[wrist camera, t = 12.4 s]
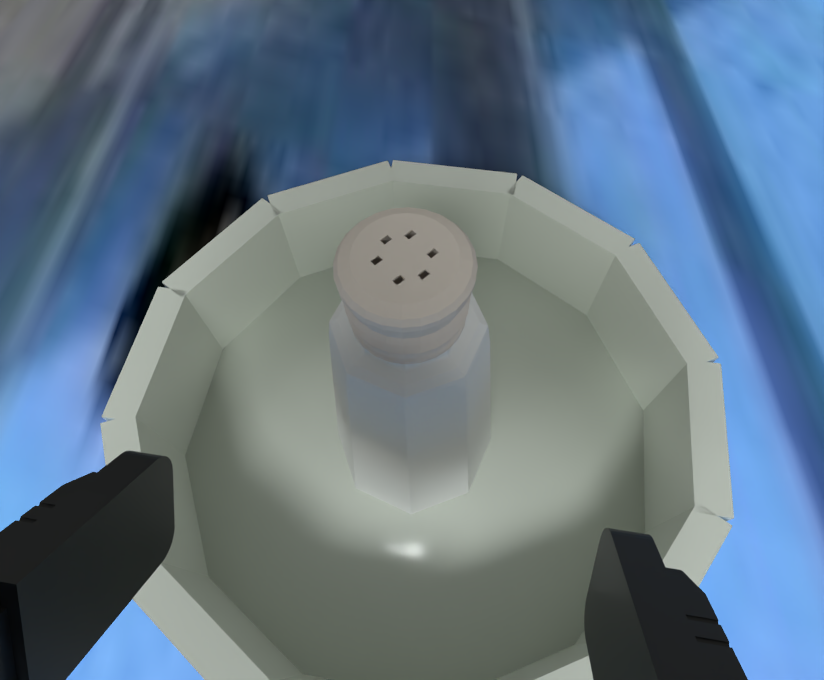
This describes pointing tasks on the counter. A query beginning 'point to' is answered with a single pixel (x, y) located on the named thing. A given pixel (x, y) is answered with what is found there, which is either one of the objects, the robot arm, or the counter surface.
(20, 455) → the counter surface
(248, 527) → the bowl
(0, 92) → the counter surface
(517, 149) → the counter surface
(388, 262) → the salt shaker
